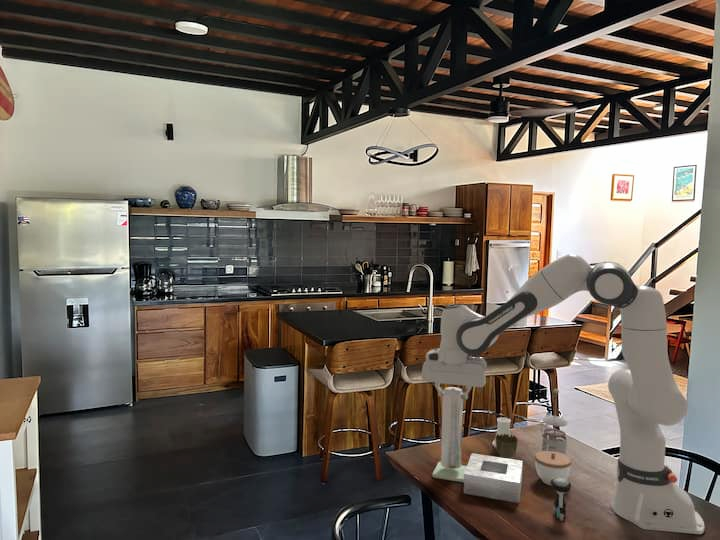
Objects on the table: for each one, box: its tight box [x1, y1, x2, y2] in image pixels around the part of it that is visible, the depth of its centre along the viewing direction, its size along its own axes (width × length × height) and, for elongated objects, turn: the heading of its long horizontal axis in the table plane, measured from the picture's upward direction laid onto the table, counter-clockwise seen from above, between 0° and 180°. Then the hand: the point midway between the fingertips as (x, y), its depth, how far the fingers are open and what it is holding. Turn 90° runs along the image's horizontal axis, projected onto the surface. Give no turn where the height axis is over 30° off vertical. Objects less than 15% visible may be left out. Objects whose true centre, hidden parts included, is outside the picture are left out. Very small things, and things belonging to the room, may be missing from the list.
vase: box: [492, 416, 512, 448], centre depth 193 cm, size 8×8×10 cm
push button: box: [550, 477, 572, 521], centre depth 146 cm, size 7×5×10 cm
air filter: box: [440, 386, 464, 469], centre depth 170 cm, size 6×6×25 cm
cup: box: [494, 433, 519, 459], centre depth 181 cm, size 8×7×8 cm
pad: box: [431, 461, 467, 483], centre depth 171 cm, size 10×10×1 cm
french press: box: [540, 388, 569, 455], centre depth 182 cm, size 10×12×25 cm
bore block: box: [463, 452, 524, 504], centre depth 162 cm, size 16×16×6 cm
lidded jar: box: [534, 450, 572, 486], centre depth 166 cm, size 11×11×9 cm
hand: (452, 397), depth 169 cm, fingers closed on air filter, 6 cm apart
